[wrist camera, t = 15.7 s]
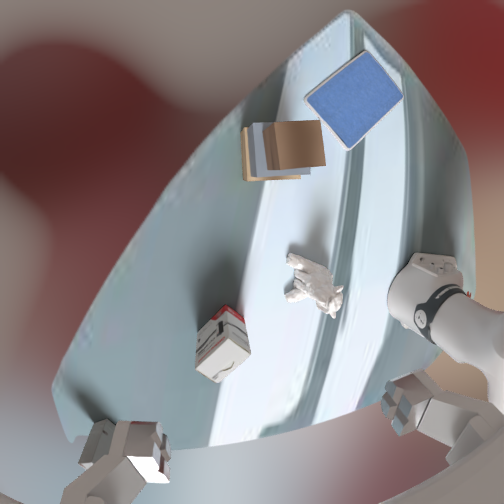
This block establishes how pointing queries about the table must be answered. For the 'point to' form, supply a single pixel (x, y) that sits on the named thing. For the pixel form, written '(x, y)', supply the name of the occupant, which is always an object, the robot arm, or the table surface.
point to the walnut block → (294, 145)
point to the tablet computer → (354, 99)
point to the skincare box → (97, 443)
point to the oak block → (247, 163)
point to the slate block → (258, 154)
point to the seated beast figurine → (314, 285)
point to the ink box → (222, 345)
